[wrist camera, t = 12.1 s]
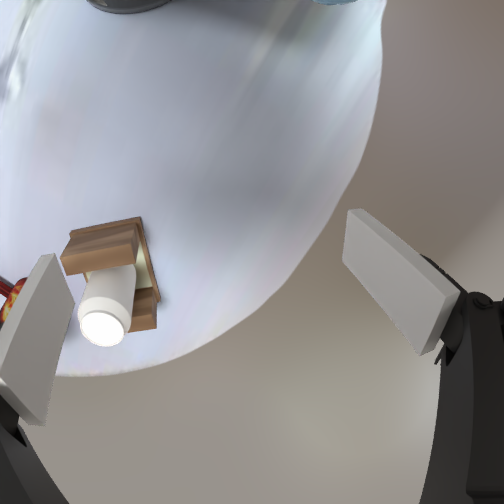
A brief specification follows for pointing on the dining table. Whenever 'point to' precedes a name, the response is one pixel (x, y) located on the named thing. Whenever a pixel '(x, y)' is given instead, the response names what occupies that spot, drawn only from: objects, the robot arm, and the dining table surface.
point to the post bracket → (117, 262)
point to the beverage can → (107, 305)
